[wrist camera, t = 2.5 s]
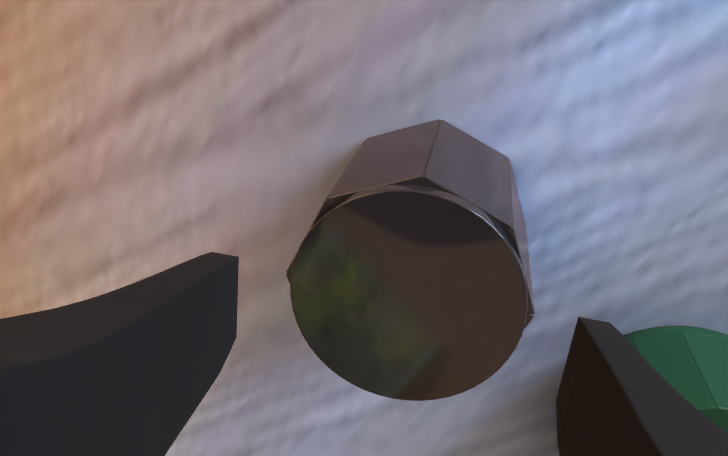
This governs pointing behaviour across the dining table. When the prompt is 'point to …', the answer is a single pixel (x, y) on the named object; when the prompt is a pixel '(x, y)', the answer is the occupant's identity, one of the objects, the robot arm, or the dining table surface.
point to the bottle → (690, 365)
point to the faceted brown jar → (416, 266)
